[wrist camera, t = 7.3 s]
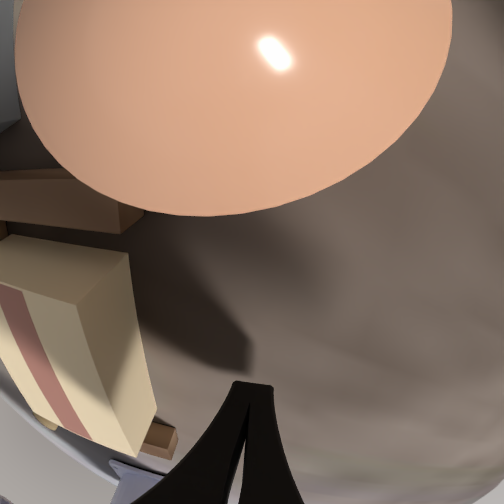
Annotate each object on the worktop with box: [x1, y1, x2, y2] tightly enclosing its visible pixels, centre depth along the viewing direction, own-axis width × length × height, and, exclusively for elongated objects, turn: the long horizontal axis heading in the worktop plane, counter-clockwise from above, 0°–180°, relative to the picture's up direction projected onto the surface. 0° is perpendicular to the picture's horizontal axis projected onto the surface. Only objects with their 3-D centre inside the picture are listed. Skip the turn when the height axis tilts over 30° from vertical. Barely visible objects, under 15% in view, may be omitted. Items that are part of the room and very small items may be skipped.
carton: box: [0, 234, 157, 457], centre depth 11 cm, size 9×6×4 cm
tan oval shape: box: [15, 0, 452, 216], centre depth 5 cm, size 6×6×5 cm
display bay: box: [0, 168, 178, 460], centre depth 11 cm, size 15×9×2 cm, turn 176°
